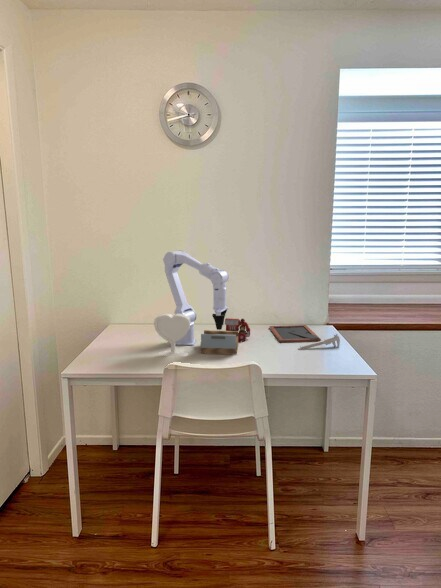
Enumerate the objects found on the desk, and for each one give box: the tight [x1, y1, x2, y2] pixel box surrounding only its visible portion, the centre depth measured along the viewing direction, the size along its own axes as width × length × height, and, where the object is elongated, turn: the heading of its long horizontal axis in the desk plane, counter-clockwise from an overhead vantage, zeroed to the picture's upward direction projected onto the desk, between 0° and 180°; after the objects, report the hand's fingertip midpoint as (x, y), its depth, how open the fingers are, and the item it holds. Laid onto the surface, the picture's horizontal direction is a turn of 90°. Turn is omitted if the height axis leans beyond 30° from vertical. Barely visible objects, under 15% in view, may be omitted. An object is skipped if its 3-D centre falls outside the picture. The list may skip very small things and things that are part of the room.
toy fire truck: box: [224, 318, 251, 342], centre depth 203 cm, size 7×12×10 cm, turn 82°
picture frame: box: [268, 324, 322, 344], centre depth 211 cm, size 20×2×25 cm
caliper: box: [297, 333, 341, 350], centre depth 190 cm, size 20×1×6 cm, turn 102°
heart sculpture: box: [153, 312, 191, 357], centre depth 182 cm, size 16×5×18 cm, turn 83°
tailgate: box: [200, 333, 236, 349], centre depth 181 cm, size 15×2×6 cm, turn 84°
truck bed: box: [200, 329, 239, 355], centre depth 189 cm, size 16×12×7 cm
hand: (219, 327), depth 187 cm, fingers open, 6 cm apart
